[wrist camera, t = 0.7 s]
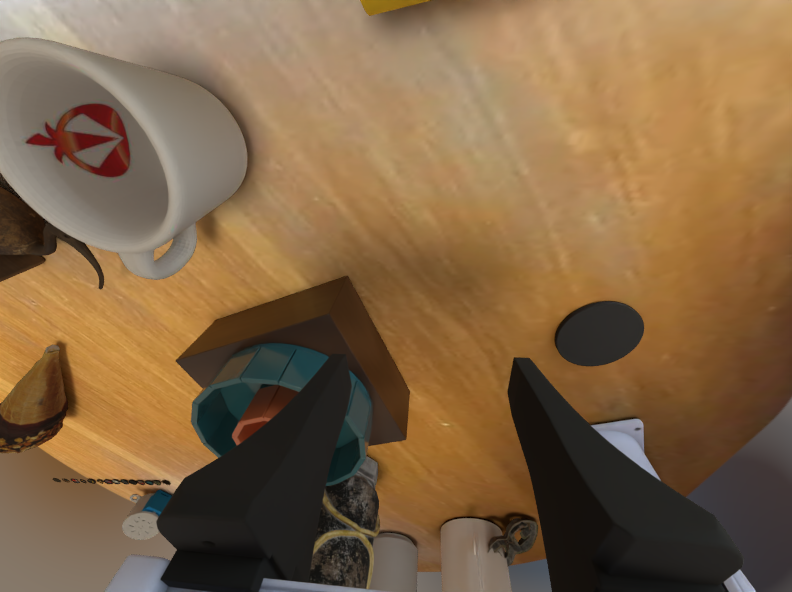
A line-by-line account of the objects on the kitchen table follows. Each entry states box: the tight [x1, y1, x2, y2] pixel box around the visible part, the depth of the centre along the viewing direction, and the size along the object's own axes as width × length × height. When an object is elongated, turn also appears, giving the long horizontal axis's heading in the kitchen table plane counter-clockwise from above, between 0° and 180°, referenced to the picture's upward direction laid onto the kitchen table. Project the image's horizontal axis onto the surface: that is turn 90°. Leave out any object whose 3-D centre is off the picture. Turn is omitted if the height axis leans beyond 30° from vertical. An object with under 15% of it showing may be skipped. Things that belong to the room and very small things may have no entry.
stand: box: [176, 276, 410, 446], centre depth 26 cm, size 13×13×5 cm
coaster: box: [555, 301, 644, 366], centre depth 24 cm, size 6×6×1 cm
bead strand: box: [53, 478, 171, 485], centre depth 45 cm, size 20×1×1 cm
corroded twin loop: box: [488, 518, 538, 566], centre depth 38 cm, size 5×8×1 cm
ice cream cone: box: [0, 345, 68, 453], centre depth 32 cm, size 6×6×15 cm
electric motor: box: [122, 490, 172, 540], centre depth 44 cm, size 7×5×5 cm
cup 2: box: [441, 518, 512, 592], centre depth 37 cm, size 8×12×10 cm
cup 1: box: [0, 38, 247, 280], centre depth 16 cm, size 11×8×8 cm
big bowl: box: [191, 343, 373, 486], centre depth 22 cm, size 12×12×3 cm
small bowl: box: [232, 385, 299, 445], centre depth 22 cm, size 6×6×3 cm
